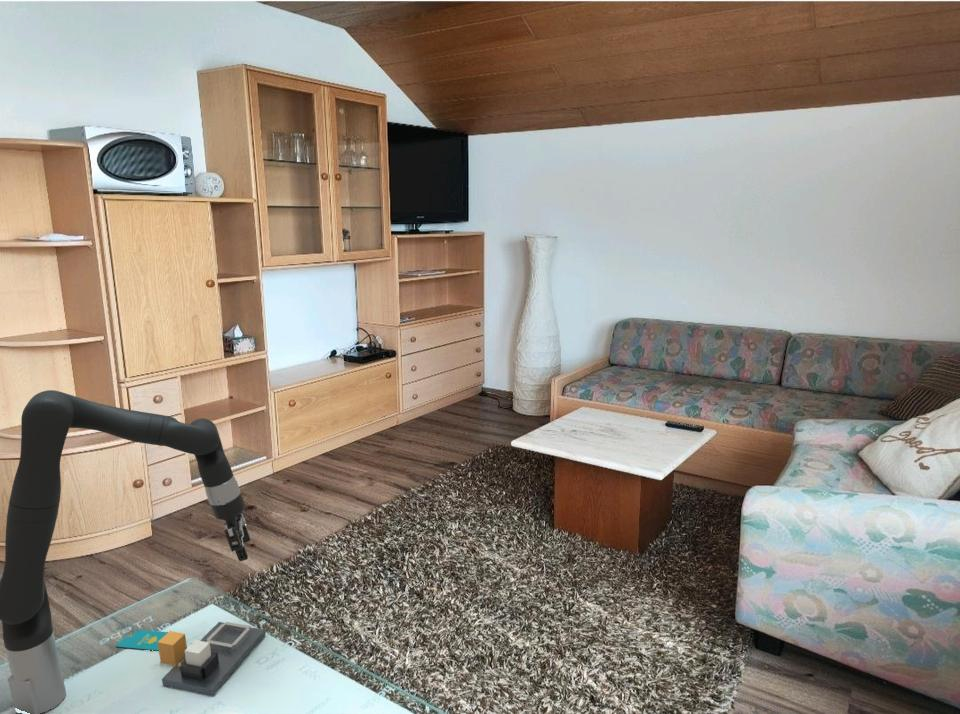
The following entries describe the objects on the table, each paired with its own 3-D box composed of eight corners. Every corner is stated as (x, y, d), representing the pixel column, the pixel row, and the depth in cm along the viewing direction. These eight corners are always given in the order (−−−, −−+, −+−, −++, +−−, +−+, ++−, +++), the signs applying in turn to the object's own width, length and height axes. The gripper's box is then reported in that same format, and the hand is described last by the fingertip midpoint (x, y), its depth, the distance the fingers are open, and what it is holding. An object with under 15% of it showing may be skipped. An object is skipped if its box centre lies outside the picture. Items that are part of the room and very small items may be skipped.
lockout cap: (175, 665, 166) (172, 645, 165) (160, 662, 167) (157, 642, 166) (187, 653, 171) (184, 633, 169) (173, 650, 172) (170, 630, 170)
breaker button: (200, 667, 159) (198, 653, 158) (186, 664, 160) (184, 650, 159) (211, 656, 163) (209, 642, 162) (197, 653, 164) (195, 640, 163)
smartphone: (132, 628, 180) (183, 632, 178) (132, 630, 180) (183, 635, 178) (114, 646, 173) (167, 651, 171) (114, 649, 173) (167, 654, 171)
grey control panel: (213, 696, 156) (210, 678, 155) (162, 685, 160) (160, 668, 158) (265, 636, 177) (263, 620, 175) (219, 628, 180) (217, 612, 179)
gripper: (212, 487, 169) (232, 540, 175) (205, 514, 156) (227, 571, 161) (242, 478, 171) (261, 531, 176) (237, 504, 158) (258, 561, 163)
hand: (245, 550), depth 169 cm, fingers open, 8 cm apart
